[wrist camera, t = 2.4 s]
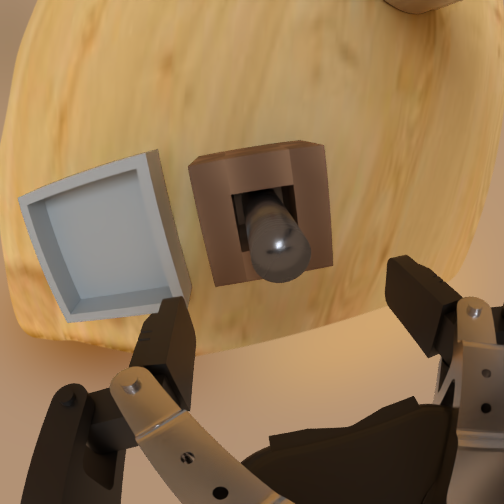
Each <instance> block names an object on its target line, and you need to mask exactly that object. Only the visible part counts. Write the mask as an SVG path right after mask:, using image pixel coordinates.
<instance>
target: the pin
mask: <svg viewBox="0 0 504 504" xmlns="http://www.w3.org/2000/svg"><path fill="white" fill-rule="evenodd" d="M241 200H242V207H243V213H244V219H245V225H246V231H247V238H248V244H249V250H250V256H251V262H252V266H253V268H254V270H255V271H256V273H257V274H258V275H259V276H260V277H262V278H263V279H265V280H267V281H270V282H274V283H284V282H288V281H291V280H293V279H295V278H297V277H298V276H300V275H301V274H302V273H303V272H304V271H305V269H306V268H307V266H308V265H309V262H310V259H311V247H310V244H309V242H308V240H307V239H306V237H305V236H304V234H303V233H302V231H301V230H300V228H299V227H298V225H297V224H296V222H295V221H294V219H293V218H292V216H291V215H290V213H289V212H288V210H287V209H286V207H285V206H284V204H283V203H282V201H281V200H280V198H279V197H278V196H277V194H276V193H275V191H274V190H273V188H268V189H262V190H256V191H250V192H244V193H242V197H241Z"/></svg>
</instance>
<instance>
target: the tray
mask: <svg viewBox="0 0 504 504" xmlns="http://www.w3.org/2000/svg"><path fill="white" fill-rule="evenodd" d="M18 201H19V205H20V208H21V211H22V215H23V218H24V221H25V224H26V227H27V230H28V233H29V236H30V239H31V242H32V244H33V247H34V250H35V252H36V255H37V258H38V260H39V263H40V265H41V267H42V270H43V272H44V275H45V277H46V279H47V281H48V284H49V286H50V288H51V290H52V293H53V295H54V297H55V299H56V301H57V303H58V305H59V307H60V309H61V311H62V313H63V315H64V317H65V319H66V321H67V323H71V322H82V321H92V320H101V319H110V318H119V317H128V316H136V315H144V314H152V313H158V311H159V308H160V305H161V302H162V299H164V298H171V297H178V296H183V298H184V300H185V303H186V306H187V309H188V304H189V299H190V294H191V289H192V284H191V281H190V278H189V274H188V271H187V267H186V264H185V260H184V256H183V253H182V249H181V245H180V242H179V238H178V234H177V230H176V226H175V222H174V218H173V214H172V210H171V206H170V202H169V198H168V194H167V190H166V185H165V181H164V176H163V172H162V167H161V163H160V158H159V153H158V149H156V150H152V151H148V152H145V153H141V154H137V155H134V156H130V157H127V158H123V159H120V160H117V161H113V162H110V163H107V164H104V165H101V166H98V167H95V168H92V169H89V170H86V171H83V172H80V173H77V174H74V175H72V176H69V177H66V178H64V179H61V180H58V181H56V182H53V183H51V184H48V185H46V186H43V187H41V188H38V189H36V190H34V191H32V192H29V193H27V194H25V195H23V196H21V197H19V198H18Z"/></svg>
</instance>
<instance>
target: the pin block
mask: <svg viewBox="0 0 504 504" xmlns="http://www.w3.org/2000/svg"><path fill="white" fill-rule="evenodd" d="M188 170H189V175H190V180H191V184H192V189H193V194H194V198H195V203H196V207H197V212H198V216H199V221H200V225H201V229H202V234H203V238H204V242H205V246H206V251H207V255H208V259H209V263H210V267H211V271H212V275H213V279H214V283H215V287H218V286H224V285H230V284H236V283H242V282H247V281H253V280H259V279H263V278H262V277H260V276H259V275H258V274H257V273H256V271H255V270H254V268H253V266H252V262H251V256H250V250H249V244H248V238H247V231H246V225H245V219H244V213H243V207H242V200H241V197H242V193H244V192H250V191H256V190H262V189H268V188H273V190H274V191H275V193H276V194H277V196H278V197H279V198H280V200H281V201H282V203H283V204H284V206H285V207H286V209H287V210H288V212H289V213H290V215H291V216H292V218H293V219H294V221H295V222H296V224H297V225H298V227H299V228H300V230H301V231H302V233H303V234H304V236H305V237H306V239H307V240H308V242H309V244H310V247H311V259H310V262H309V265H308V266H307V268H306V269H305V271H308V270H314V269H319V268H324V267H329V266H333V251H332V231H331V215H330V201H329V189H328V178H327V168H326V158H325V149H324V145H321V144H316V143H311V142H306V141H301V140H298V141H290V142H282V143H275V144H267V145H261V146H254V147H248V148H242V149H236V150H230V151H225V152H219V153H214V154H209V155H204V156H199V157H198V158H197V159H196V160H194V161H193V162H192V163H191V164H190V165H189V166H188Z"/></svg>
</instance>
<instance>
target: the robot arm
mask: <svg viewBox="0 0 504 504" xmlns="http://www.w3.org/2000/svg"><path fill="white" fill-rule="evenodd" d="M385 1H386V2H388V3H389V4H390V5H392V6H394V7H396V8H397V9H399V10H402V11H404V12H407V13H412V14H421V13H424V12H427V11H429V10H432V9H435V10H437V9H440V8H442V7H445V6H448V5H451V4H453V3H456V2H459V1H462V0H385ZM385 298H386V302H387V304H388V306H389V308H390V309H391V310H392V311H393V313H394V314H395V315H396V316H397V318H398V319H399V320H400V322H401V323H402V324H403V325H404V327H405V328H406V329H407V331H408V332H409V333H410V335H411V336H412V337H413V339H414V340H415V341H416V342H417V344H418V345H419V346H420V348H421V349H422V351H423V352H424V353H425V355H426V356H427V357H428V358H430V357H432V356H435V355H437V354H440V355H441V358H440V361H439V367H438V375H437V383H436V389H435V395H434V400H433V404H420V405H419V404H418V402H417V401H416V399H415V397H414V396H412V397H410V398H407V399H405V400H402V401H399V402H397V403H394V404H392V405H389V406H386V407H383V408H381V409H380V410H378V411H376V412H375V413H373V414H372V415H370V416H368V417H366V418H365V419H363V420H361V421H359V422H358V423H356V424H354V425H352V426H349V427H343V428H320V429H305V430H300V431H295V432H290V433H284V434H278V435H272V436H269V441H270V446H268V447H266V448H264V449H261V450H260V451H257V452H255V453H254V454H252V455H250V456H249V457H247V458H246V459H245V460H243V461H242V462H241V463H240V462H239V461H237V460H236V459H235V458H234V457H233V456H232V455H231V454H230V453H228V451H226V450H225V449H224V448H223V447H222V446H221V445H220V444H219V443H218V442H217V441H216V440H215V439H214V438H213V437H212V436H211V435H210V434H209V433H208V432H207V431H206V430H205V429H204V428H203V427H202V426H201V425H200V424H199V423H198V422H197V421H196V420H195V419H194V418H193V417H192V416H191V414H190V413H189V412H188V411H190V406H191V394H192V382H193V370H194V360H195V349H196V336H195V331H194V327H193V324H192V321H191V318H190V315H189V312H188V309H187V306H186V303H185V300H184V298H183V296H178V297H171V298H164V299H162V302H161V305H160V308H159V311H158V313H152V314H151V315H150V316H149V317H148V318H147V319H146V321H145V322H144V323H143V326H142V329H141V334H140V335H139V338H138V341H137V344H136V347H135V350H134V353H133V356H132V359H131V362H130V365H129V368H127V369H124V370H122V371H121V372H119V373H118V374H117V375H116V376H115V377H114V378H113V379H112V381H111V384H110V387H109V388H106V389H103V390H100V391H96V392H92V393H88V392H87V391H86V389H85V388H84V387H83V386H82V385H80V384H75V383H73V384H68V385H66V386H64V387H62V388H61V389H59V390H58V391H57V392H56V394H55V395H54V396H53V398H52V401H51V404H50V406H49V409H48V411H47V414H46V417H45V420H44V423H43V425H42V428H41V431H40V434H39V437H38V440H37V443H36V446H35V450H34V453H33V456H32V459H31V463H30V467H29V470H28V474H27V478H26V482H25V486H24V490H23V495H22V499H21V504H121V492H122V481H123V471H124V462H125V454H126V449H128V448H132V447H136V446H140V448H141V449H142V451H143V452H144V454H145V455H146V457H147V458H148V460H149V461H150V462H151V464H152V465H153V467H154V468H155V470H156V471H157V472H158V474H159V475H160V476H161V478H162V479H163V480H164V482H165V483H166V484H167V486H168V487H169V488H170V489H171V491H172V492H173V493H174V494H175V496H176V497H177V498H178V499H179V500H180V502H181V503H182V504H504V304H503V306H501V307H492V308H491V307H490V306H489V305H488V304H487V303H486V302H485V301H484V300H482V299H479V298H476V297H465V298H462V296H460V295H459V294H458V293H457V292H456V291H455V290H454V289H453V288H451V287H450V286H449V285H448V284H447V283H446V282H443V280H442V279H441V278H440V277H439V276H438V277H437V275H436V274H435V273H434V272H433V271H432V270H431V269H429V268H427V267H425V266H422V265H420V264H418V263H416V262H415V261H414V260H413V259H412V258H410V257H409V256H408V255H402V256H398V257H393V258H390V259H389V260H388V263H387V274H386V286H385Z"/></svg>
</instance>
